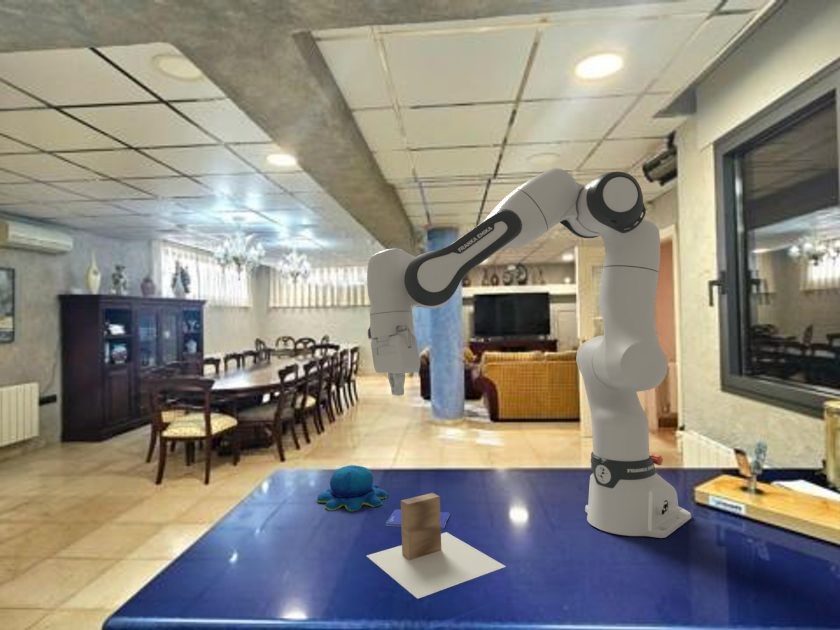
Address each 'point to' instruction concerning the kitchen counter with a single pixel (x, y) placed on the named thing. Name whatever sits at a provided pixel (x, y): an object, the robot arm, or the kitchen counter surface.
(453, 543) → the mat
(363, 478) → the plush toy
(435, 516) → the teal-faced wooden block
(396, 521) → the hard drive
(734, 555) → the kitchen counter surface
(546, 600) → the kitchen counter surface
